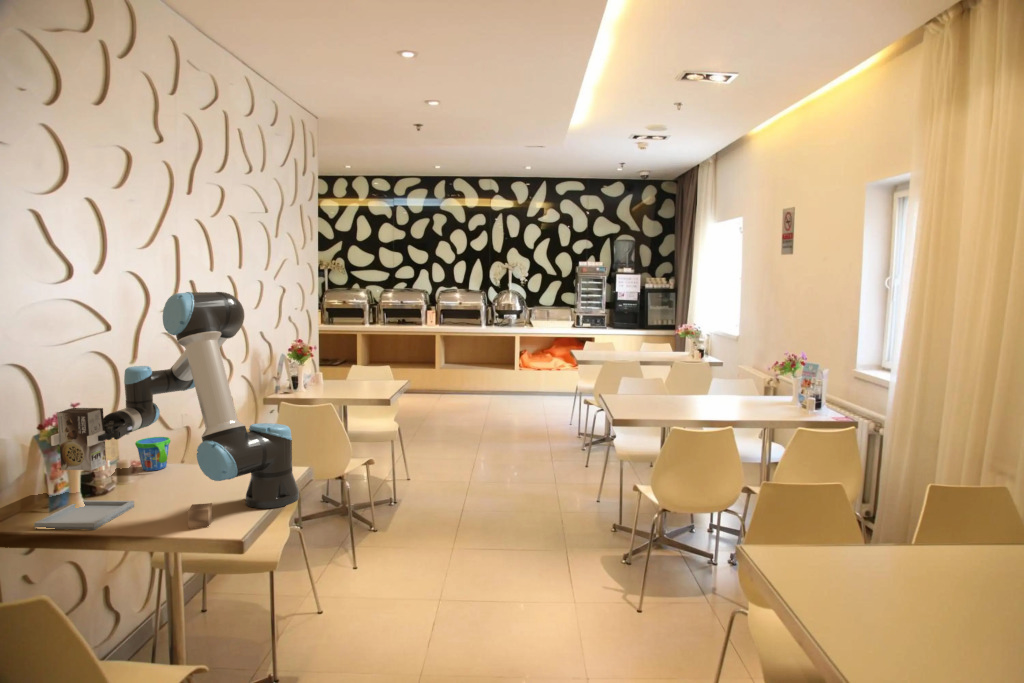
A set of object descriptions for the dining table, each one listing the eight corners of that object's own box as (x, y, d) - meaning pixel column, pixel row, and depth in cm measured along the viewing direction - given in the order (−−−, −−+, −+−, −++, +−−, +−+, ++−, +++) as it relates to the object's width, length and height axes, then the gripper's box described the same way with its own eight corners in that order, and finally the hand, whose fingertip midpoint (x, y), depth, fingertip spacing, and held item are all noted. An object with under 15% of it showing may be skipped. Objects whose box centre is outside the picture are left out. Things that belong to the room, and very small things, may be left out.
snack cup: (131, 466, 236) (129, 438, 235) (163, 461, 243) (162, 433, 242) (144, 476, 225) (142, 446, 224) (177, 470, 232) (176, 441, 231)
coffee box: (107, 464, 188) (104, 407, 186) (91, 471, 181) (87, 412, 180) (76, 463, 189) (73, 406, 187) (59, 470, 182) (56, 411, 181)
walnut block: (212, 520, 184) (211, 503, 184) (208, 527, 179) (208, 509, 179) (192, 522, 183) (192, 504, 183) (188, 528, 178) (187, 510, 178)
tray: (134, 506, 195) (133, 500, 195) (94, 530, 177) (93, 523, 177) (80, 506, 195) (79, 500, 195) (34, 529, 177) (34, 522, 177)
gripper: (157, 435, 202) (111, 455, 180) (86, 434, 203) (31, 454, 180) (156, 411, 201) (110, 427, 179) (85, 410, 202) (29, 426, 179)
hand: (70, 441), depth 180 cm, fingers closed on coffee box, 9 cm apart
